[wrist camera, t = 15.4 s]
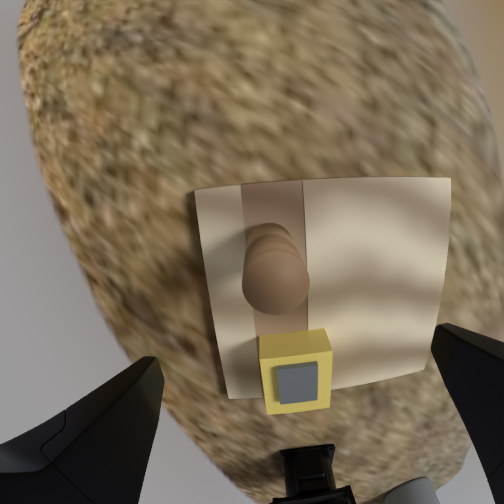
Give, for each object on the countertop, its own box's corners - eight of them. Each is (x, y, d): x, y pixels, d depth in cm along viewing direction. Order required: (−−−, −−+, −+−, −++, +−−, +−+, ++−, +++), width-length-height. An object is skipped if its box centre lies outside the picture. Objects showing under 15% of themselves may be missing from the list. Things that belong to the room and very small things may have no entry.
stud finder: (323, 383, 23) (330, 411, 20) (266, 390, 23) (267, 419, 20) (324, 327, 21) (334, 354, 18) (259, 335, 22) (259, 363, 18)
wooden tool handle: (292, 261, 20) (310, 311, 13) (248, 265, 20) (245, 317, 13) (290, 218, 19) (308, 249, 12) (244, 222, 19) (238, 255, 12)
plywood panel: (419, 363, 24) (424, 369, 23) (229, 391, 25) (228, 399, 24) (443, 177, 19) (450, 178, 18) (197, 189, 19) (194, 190, 18)
